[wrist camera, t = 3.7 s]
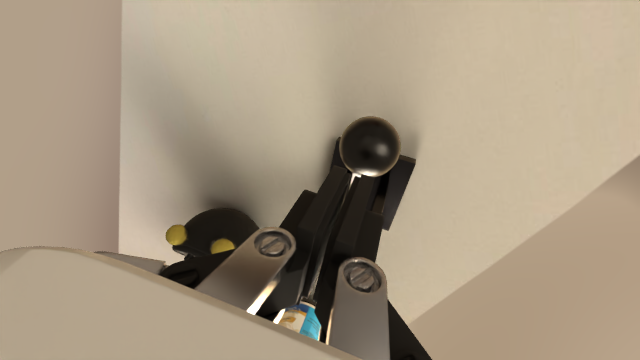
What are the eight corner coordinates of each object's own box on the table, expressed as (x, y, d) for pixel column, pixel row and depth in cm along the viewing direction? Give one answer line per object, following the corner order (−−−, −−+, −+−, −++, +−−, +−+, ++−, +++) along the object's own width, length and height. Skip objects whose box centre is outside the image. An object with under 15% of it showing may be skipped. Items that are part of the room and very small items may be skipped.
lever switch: (339, 136, 35) (299, 194, 24) (416, 159, 33) (409, 231, 23) (323, 203, 40) (286, 274, 30) (389, 225, 39) (374, 308, 28)
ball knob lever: (352, 96, 16) (333, 140, 14) (413, 113, 15) (400, 161, 13) (332, 227, 30) (322, 257, 28) (363, 238, 29) (354, 269, 28)
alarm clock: (219, 221, 54) (132, 245, 41) (271, 184, 47) (185, 200, 34) (245, 282, 52) (162, 327, 40) (304, 254, 45) (225, 298, 32)
